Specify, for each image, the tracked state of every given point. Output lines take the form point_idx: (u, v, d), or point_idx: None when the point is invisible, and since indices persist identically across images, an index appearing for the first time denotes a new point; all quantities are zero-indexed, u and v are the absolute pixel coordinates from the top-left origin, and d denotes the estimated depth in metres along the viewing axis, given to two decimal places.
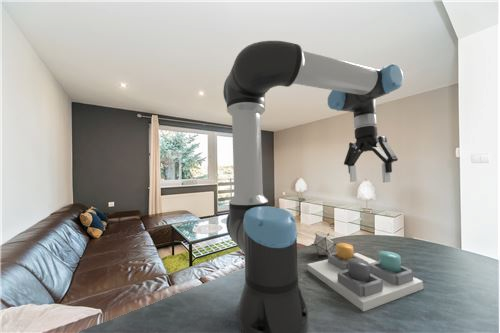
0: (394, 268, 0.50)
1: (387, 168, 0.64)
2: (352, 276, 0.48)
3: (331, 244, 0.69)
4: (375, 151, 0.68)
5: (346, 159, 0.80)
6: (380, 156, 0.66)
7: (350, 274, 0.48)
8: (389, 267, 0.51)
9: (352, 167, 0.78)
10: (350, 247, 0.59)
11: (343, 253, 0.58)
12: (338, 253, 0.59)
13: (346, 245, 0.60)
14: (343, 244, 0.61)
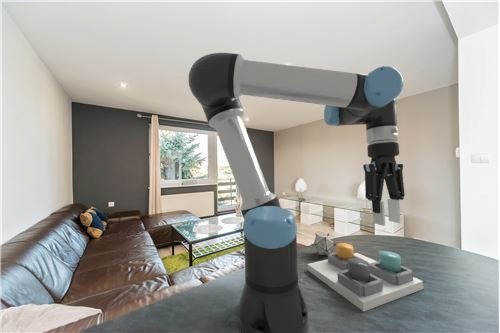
0: (394, 268, 0.50)
1: None
2: (352, 276, 0.48)
3: (331, 244, 0.69)
4: None
5: None
6: None
7: (350, 274, 0.48)
8: (389, 267, 0.51)
9: (390, 201, 0.55)
10: (350, 247, 0.59)
11: (343, 253, 0.58)
12: (338, 253, 0.59)
13: (346, 245, 0.60)
14: (343, 244, 0.61)
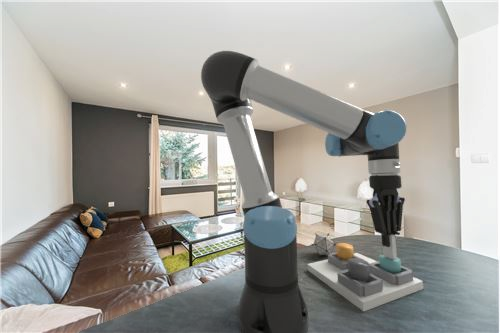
0: (394, 272, 0.50)
1: None
2: (352, 276, 0.48)
3: (331, 244, 0.69)
4: None
5: None
6: None
7: (350, 274, 0.48)
8: (389, 271, 0.51)
9: None
10: (350, 247, 0.59)
11: (343, 253, 0.58)
12: (338, 253, 0.59)
13: (346, 245, 0.60)
14: (343, 244, 0.61)
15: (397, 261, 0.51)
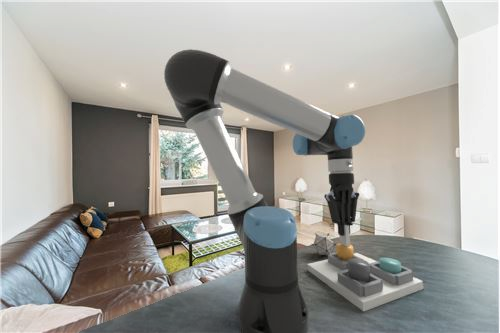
0: None
1: None
2: (352, 276, 0.48)
3: (331, 244, 0.69)
4: None
5: None
6: None
7: (350, 274, 0.48)
8: None
9: None
10: (350, 247, 0.59)
11: (343, 253, 0.58)
12: (338, 253, 0.59)
13: None
14: None
15: (397, 264, 0.51)
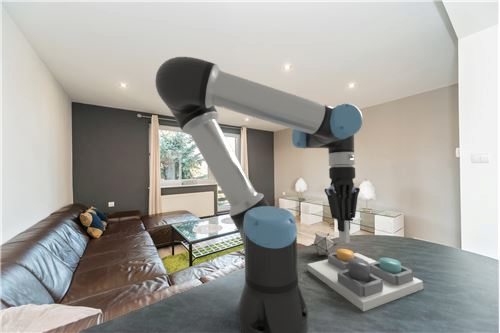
0: None
1: None
2: (352, 276, 0.48)
3: (331, 244, 0.69)
4: None
5: None
6: None
7: (350, 274, 0.48)
8: None
9: None
10: (350, 253, 0.59)
11: (343, 259, 0.58)
12: None
13: (346, 251, 0.60)
14: (343, 250, 0.61)
15: (397, 264, 0.51)
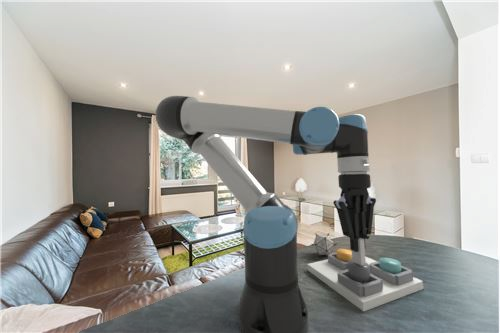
0: None
1: None
2: (352, 278, 0.48)
3: (331, 244, 0.69)
4: None
5: None
6: None
7: (350, 276, 0.48)
8: None
9: None
10: (350, 253, 0.59)
11: (343, 259, 0.58)
12: None
13: (346, 251, 0.60)
14: (343, 250, 0.61)
15: (397, 264, 0.51)
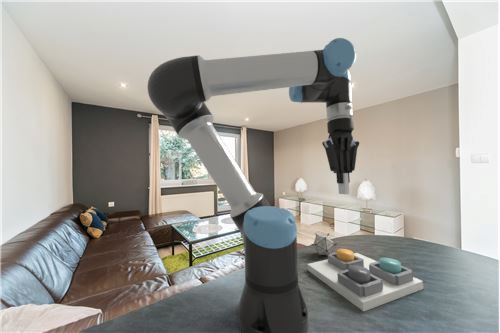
0: None
1: None
2: None
3: (331, 244, 0.69)
4: None
5: None
6: None
7: None
8: None
9: None
10: (350, 253, 0.59)
11: (343, 259, 0.58)
12: None
13: (346, 251, 0.60)
14: (343, 250, 0.61)
15: (397, 264, 0.51)
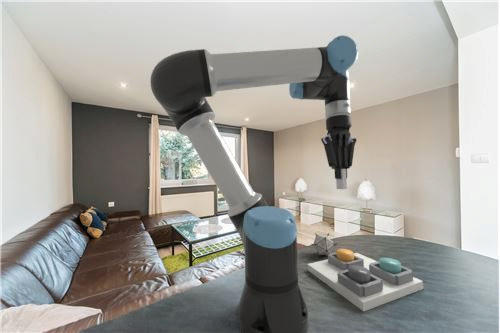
0: None
1: None
2: None
3: (331, 244, 0.69)
4: None
5: None
6: None
7: None
8: None
9: None
10: (350, 253, 0.59)
11: (343, 259, 0.58)
12: None
13: (346, 251, 0.60)
14: (343, 250, 0.61)
15: (397, 264, 0.51)
